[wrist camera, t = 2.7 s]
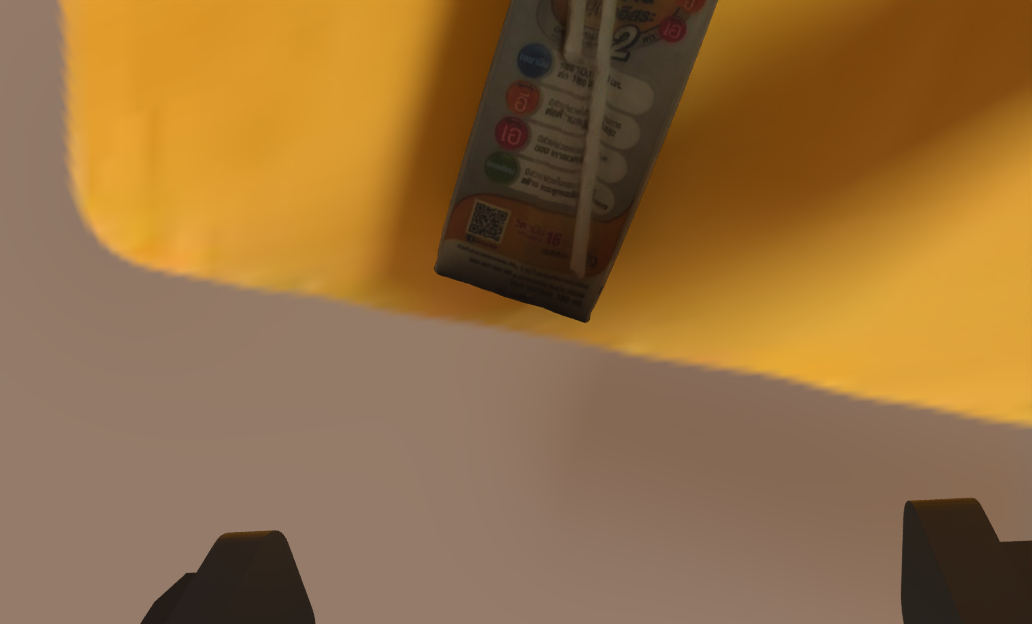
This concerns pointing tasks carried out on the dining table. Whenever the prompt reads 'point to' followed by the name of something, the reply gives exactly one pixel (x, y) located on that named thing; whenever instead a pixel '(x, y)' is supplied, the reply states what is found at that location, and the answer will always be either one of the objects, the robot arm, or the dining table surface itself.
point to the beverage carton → (567, 145)
